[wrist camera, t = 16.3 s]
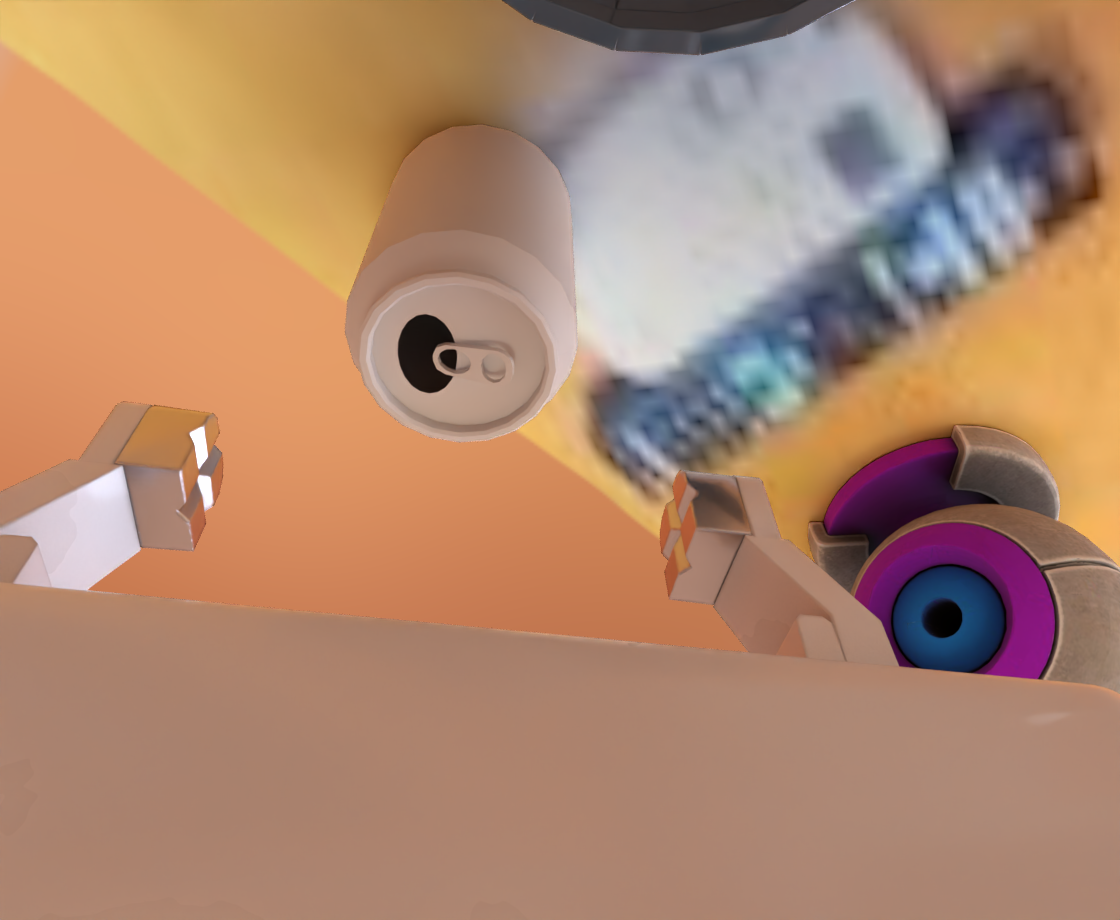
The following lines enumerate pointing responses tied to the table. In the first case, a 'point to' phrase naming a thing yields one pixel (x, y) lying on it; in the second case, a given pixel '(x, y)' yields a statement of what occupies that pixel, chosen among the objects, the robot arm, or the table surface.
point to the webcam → (974, 562)
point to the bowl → (675, 21)
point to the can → (467, 287)
